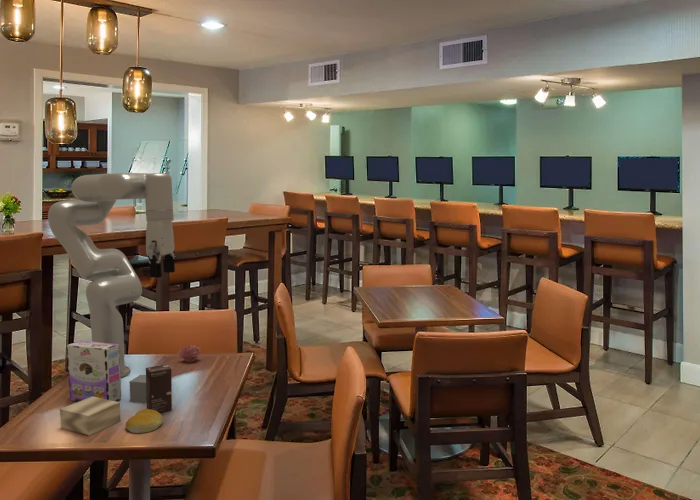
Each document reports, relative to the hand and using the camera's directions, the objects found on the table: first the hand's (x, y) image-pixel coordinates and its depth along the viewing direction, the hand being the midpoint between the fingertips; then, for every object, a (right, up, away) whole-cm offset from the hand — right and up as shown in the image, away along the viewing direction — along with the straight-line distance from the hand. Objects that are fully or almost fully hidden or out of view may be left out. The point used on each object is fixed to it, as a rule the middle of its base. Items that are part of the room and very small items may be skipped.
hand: (162, 274), depth 176 cm
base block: (-12, -38, -21) cm, 45 cm away
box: (+3, -37, -11) cm, 39 cm away
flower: (-1, -32, +32) cm, 45 cm away
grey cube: (-4, -36, -2) cm, 36 cm away
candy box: (-18, -36, -4) cm, 40 cm away
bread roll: (+2, -38, -22) cm, 44 cm away
